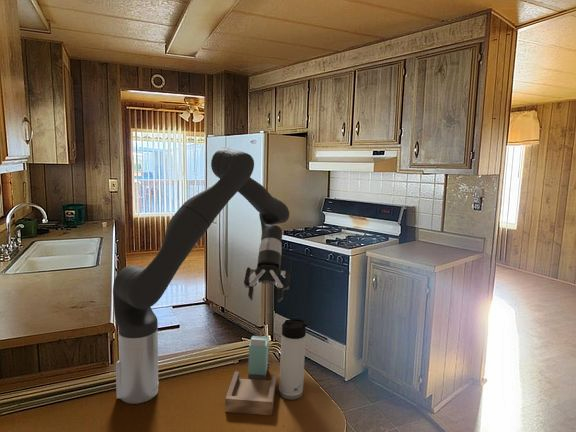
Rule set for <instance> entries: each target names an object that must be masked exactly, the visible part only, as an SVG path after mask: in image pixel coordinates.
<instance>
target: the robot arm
mask: <svg viewBox="0 0 576 432" xmlns="http://www.w3.org/2000/svg"><path fill="white" fill-rule="evenodd" d="M210 165H211V166H210V167H211V171H212V172H213V174H214V175H215V177H217V178H218V181H217V182H215V183H214V184H213V185H212V186H210V187H208V188H206V189H205V190H203V191H201V192H199V193H197V194H196V195H194V196H192V197H190V198H189V199H187V200H186V201H184V203H182V205H181V206H180V207H179V209H178V210H177V211H176V212H175V213H174V215H173V216H172V217H171V218H170V220H169V222H168V224H167V226H166V230H165V233H164V237H163V240H162V241H163V242H162V245H161V247H160V249H159V251H158V253H157V254H156V255H155V257H154V258H152V260H151V262H149V264H148V265H147V266H146V267H142V266H138V265H132V264H131V265H128V266H125V267H123V268H122V269H121V270H119V271H118V273H117V274H116V276H115V278H114V281H113V287H112V298H113V299H112V300H113V311H114V312H113V314H114V320H115V323H116V325H117V329H118V330H117V331H118V360H117V361H116V362H115V383H116V384H115V385H116V386H115V387H116V389H115V390H116V399H119V400H121V401H123V402H124V403H126V404H132V405H134V404H142V403H145V402H148V401H150V400H153V398H154V397H156V396H157V395H158V394H159V393H158V392H159V337H158V336H159V333H158V332H159V331H158V330H159V326H158V325H159V323H158V317H157V315H156V314H155V312H154V311H153V310H152V307H153V306H154V305H156V304H157V302H159V300H160V299H161V298H162V296H163V295H164V294H165V292H166V290H167V289H168V287H169V285H170V283H172V280H173V279H174V277H175V275H176V273H177V272H178V270H179V268H181V265H182V264H183V263H184V261H185V260H186V258H187V257H188V256H189V254H190V253H191V252H192V251H193V249H194V247H195V246H196V245H197V243H198V242H199V241H200V240H201V238H203V236H204V235H205V234H206V232H207V230H208V229H209V228H210V226H212V224H213V222H214V221H215V219H216V218H217V216H218V215H219V214H221V212H222V210H223V209H224V207H226V206H227V204H228V203H229V202H230V200H231V199H233V197H234V196H235V195H236V194H237V193H239V194H240V195H241V196H243V198H245V200H247V202H248V203H249V204H250V205H251V206H252V207H253V208H254V209H255V210H256V211H257V212H258V213H259V221H260V225H261V226H260V227H261V237H260V239H261V240H260V245H259V249H258V255H257V256H258V257H257V263H256V264H257V265H256V268H254V269H252V268H250V267H247V268H246V271H245V275H244V280H243V284H244V288H248V294H247V295H248V299H250V301H254V294H255V288H256V287H257V286H259V285H260V284H261V283H262V284H270V285H272V284H274V285H275V286H276V287H277V289H278V290H277V291H278V292H277V302H278V303H281V301H282V300H283V299H284V296H283V295H284V291H285V290H286V291H287V290H290V269H285V270H281V261H282V250H283V248H282V240H283V229H282V228H281V227H280V226H278V224H284V223H286V222H287V221H288V220H289V219H290V211H289V208H288V206H287V205H286V204H285V203H284V202H282V201H281V200H279V199H278V198H276V197H274V196H272V194H271V193H270V192H269V191H268V190H267V189H266V188H265V187H264V186H263V185H262V184H261V183H259V182H258V181H257V180H255V179H253V178H252V177H251V176H252V174H253V172H254V169H255V160H254V158H253V156H252V155H251V154H250V153H248V152H245V151H240V150H238V149H237V150H236V149H231V148H220V149H217V151H215V152H214V153H213V155H212V158H211V162H210ZM254 274H255V277H254V278H253V279H252V281H250V280H251V277H253V275H254ZM281 276H282V277H283V278H284V279H285V280H284V281H285V282H284V283H283V284H282V282H281V279H279V278H281Z"/></svg>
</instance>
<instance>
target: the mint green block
mask: <svg viewBox="0 0 576 432" xmlns="http://www.w3.org/2000/svg"><path fill="white" fill-rule="evenodd" d="M269 339H270V337H269V336H263V335H261V336H260V335H252V336H251V338H250V341H249V345H248V367H247V369H248V371H247V379H253V380H266V379H267V374H268V364H269V343H270V342H269V341H270V340H269Z"/></svg>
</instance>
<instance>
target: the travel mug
mask: <svg viewBox="0 0 576 432" xmlns="http://www.w3.org/2000/svg"><path fill="white" fill-rule="evenodd" d="M308 323H309V322H308V321H305V320H303V319H300V318H292V319H287V320H286V321H284V322H283V323H282V325H281V339H280V341H281V342H280V361H279V363H280V364H279V382H278V383H279V385H278V386H279V389H278V393H279V395H280V396H281V397H282V398H284V399H286V400H297V399H299V398H301V397H302V396H303V395H304V393H303V392H304V375H305V360H306V359H305V356H306V354H305V353H306V339H307V338H306V331H307V327H308V325H309V324H308Z"/></svg>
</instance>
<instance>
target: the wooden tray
mask: <svg viewBox="0 0 576 432" xmlns="http://www.w3.org/2000/svg"><path fill="white" fill-rule="evenodd" d="M277 376H278V375H277V374H275V373H272V374H271V379H270V380H266V379H265V380H253V379H248V378H240V371H238V370H236V371H234V372H233V375H232V379H231V382H230V385H229V387H228V391H227V393H226V394H225V395H226V396H225V399H224V400H225V401H224V402H225V403H224V406H225V407H224V413H237V414H251V415H264V416H273V409H274V404H275V396H276V391H277V390H276V389H277Z"/></svg>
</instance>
